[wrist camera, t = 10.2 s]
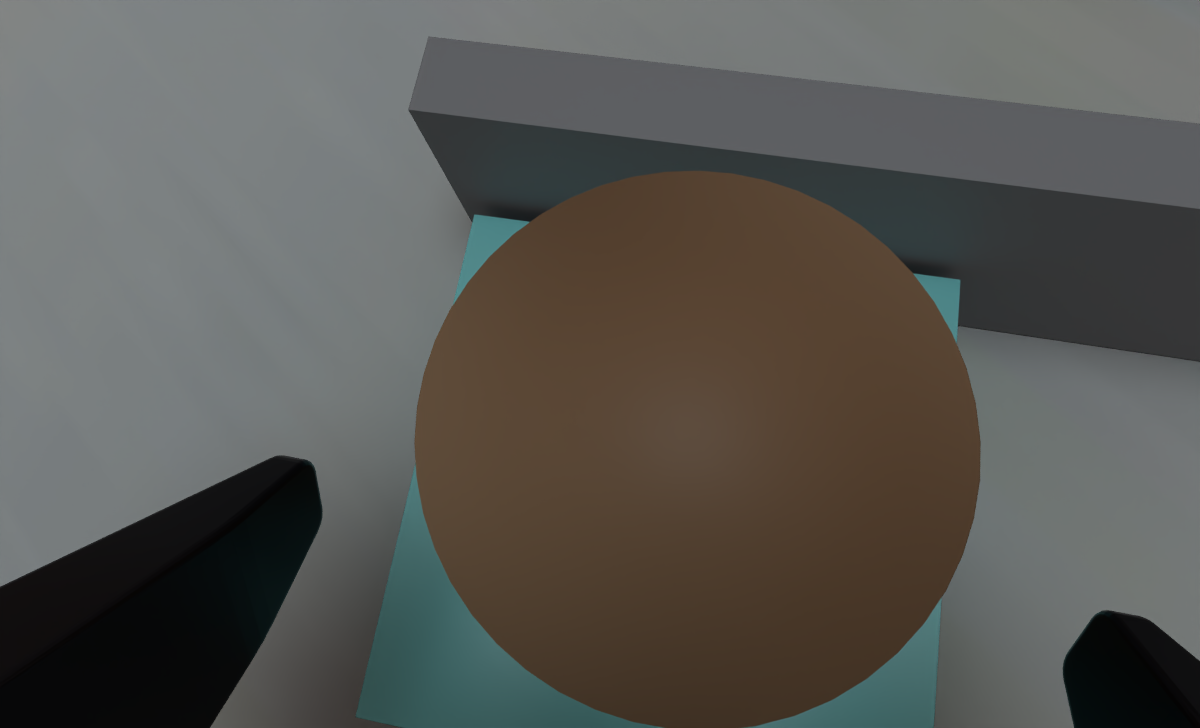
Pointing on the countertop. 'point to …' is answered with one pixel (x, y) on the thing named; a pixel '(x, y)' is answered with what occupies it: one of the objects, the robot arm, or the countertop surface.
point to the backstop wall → (857, 176)
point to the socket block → (521, 700)
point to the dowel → (697, 450)
